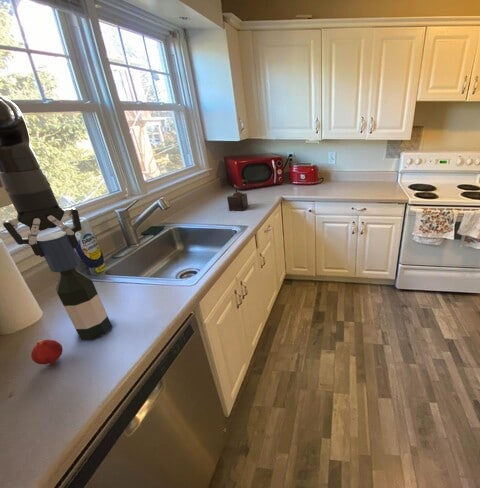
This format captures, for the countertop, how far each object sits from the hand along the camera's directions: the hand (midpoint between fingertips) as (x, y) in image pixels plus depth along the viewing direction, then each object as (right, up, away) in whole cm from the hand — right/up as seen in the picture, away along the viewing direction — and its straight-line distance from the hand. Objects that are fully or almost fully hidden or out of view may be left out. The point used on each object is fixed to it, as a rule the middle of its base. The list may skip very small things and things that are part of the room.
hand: (58, 251), depth 74 cm
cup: (0, -4, +2) cm, 5 cm away
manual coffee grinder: (+12, +27, +120) cm, 124 cm away
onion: (-3, -30, +1) cm, 30 cm away
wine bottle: (0, -25, +12) cm, 28 cm away
